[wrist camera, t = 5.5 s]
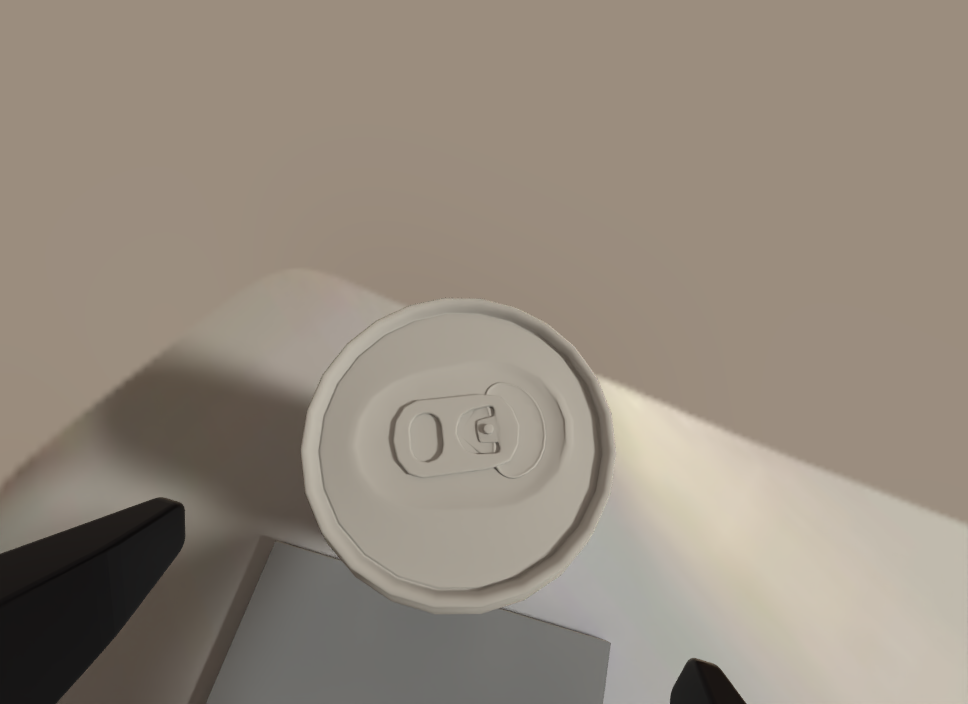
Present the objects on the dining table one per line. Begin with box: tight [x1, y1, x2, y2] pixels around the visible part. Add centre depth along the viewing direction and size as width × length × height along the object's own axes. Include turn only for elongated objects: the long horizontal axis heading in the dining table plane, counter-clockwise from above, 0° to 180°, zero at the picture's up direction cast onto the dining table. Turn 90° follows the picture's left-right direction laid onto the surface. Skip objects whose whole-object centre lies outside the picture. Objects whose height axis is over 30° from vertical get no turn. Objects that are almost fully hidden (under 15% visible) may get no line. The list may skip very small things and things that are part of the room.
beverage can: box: [300, 298, 616, 614], centre depth 12 cm, size 5×5×12 cm
